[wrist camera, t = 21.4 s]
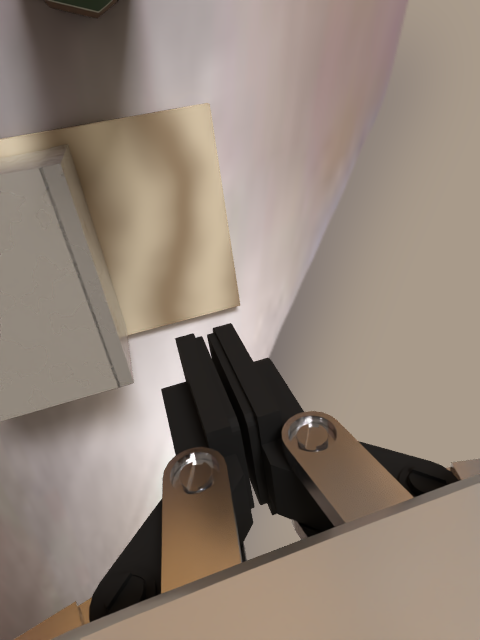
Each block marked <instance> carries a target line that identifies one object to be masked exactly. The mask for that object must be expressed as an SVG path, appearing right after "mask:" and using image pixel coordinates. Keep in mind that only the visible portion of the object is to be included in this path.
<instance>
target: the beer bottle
mask: <svg viewBox="0 0 480 640" xmlns="http://www.w3.org/2000/svg"><path fill="white" fill-rule="evenodd" d="M44 1H45V2H46V3H47V5H48V6H49V7H51V8H54V9H58V10H63V11H67V12H71V13H75V14H80V15H84V16H88V17H92V18H97V19H98V18H99V17H100V16H101V15H102V14H103V13H104V12H106V11H107V10H108V9H109V8H110V7H111V6H112V5H114V4H115V3H116V2H117V1H118V0H44Z"/></svg>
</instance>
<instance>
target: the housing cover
mask: <svg viewBox="0 0 480 640" xmlns="http://www.w3.org/2000/svg"><path fill="white" fill-rule="evenodd" d="M133 383H134V379H133V372H132V364H131V357H130V350H129V343H128V335H127V328H126V324H125V321H124V318H123V315H122V312H121V309H120V306H119V302H118V299H117V296H116V293H115V290H114V287H113V284H112V281H111V277H110V274H109V271H108V268H107V265H106V262H105V259H104V256H103V252H102V249H101V246H100V243H99V240H98V237H97V234H96V230H95V227H94V224H93V221H92V218H91V215H90V212H89V209H88V205H87V202H86V199H85V196H84V193H83V190H82V187H81V184H80V180H79V177H78V174H77V171H76V168H75V165H74V162H73V159H72V155H71V152H70V149H69V146H68V144H66V145H60V146H55V147H51V148H50V149H47V150H41V151H36V152H30V153H24V154H19V155H13V156H8V157H2V158H0V421H4V420H7V419H11V418H14V417H18V416H21V415H25V414H28V413H32V412H35V411H39V410H42V409H45V408H49V407H52V406H56V405H59V404H63V403H66V402H70V401H73V400H77V399H80V398H84V397H87V396H91V395H94V394H98V393H101V392H105V391H108V390H112V389H115V388H119V387H122V386H126V385H129V384H133Z"/></svg>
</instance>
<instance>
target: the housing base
mask: <svg viewBox="0 0 480 640" xmlns="http://www.w3.org/2000/svg"><path fill="white" fill-rule="evenodd" d="M66 144H68V146H69V149H70V152H71V155H72V159H73V162H74V165H75V168H76V171H77V174H78V177H79V180H80V184H81V187H82V190H83V193H84V196H85V199H86V202H87V205H88V209H89V212H90V215H91V218H92V221H93V224H94V227H95V230H96V234H97V237H98V240H99V243H100V246H101V249H102V252H103V256H104V259H105V262H106V265H107V268H108V271H109V274H110V277H111V281H112V284H113V287H114V290H115V293H116V296H117V299H118V302H119V306H120V309H121V312H122V315H123V318H124V321H125V324H126V328H127V335H131V334H135V333H138V332H142V331H146V330H150V329H153V328H157V327H161V326H165V325H168V324H172V323H176V322H180V321H183V320H187V319H191V318H195V317H199V316H202V315H206V314H210V313H214V312H217V311H221V310H225V309H229V308H232V307H236V306H240V300H239V294H238V287H237V281H236V274H235V268H234V261H233V254H232V248H231V241H230V235H229V228H228V222H227V215H226V208H225V202H224V195H223V189H222V182H221V175H220V169H219V162H218V156H217V149H216V143H215V136H214V129H213V123H212V116H211V110H210V104H208V103H205V104H199V105H193V106H188V107H182V108H176V109H170V110H164V111H159V112H153V113H147V114H141V115H136V116H130V117H124V118H118V119H113V120H107V121H101V122H95V123H89V124H84V125H78V126H72V127H66V128H61V129H55V130H49V131H43V132H38V133H32V134H26V135H20V136H15V137H9V138H3V139H0V158H2V157H8V156H13V155H19V154H24V153H30V152H36V151H41V150H47V149H50V148H51V147H55V146H60V145H66Z"/></svg>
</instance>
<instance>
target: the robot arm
mask: <svg viewBox="0 0 480 640" xmlns="http://www.w3.org/2000/svg"><path fill="white" fill-rule="evenodd" d="M207 338H208V343H209V347H210V352H211V356H210V354H209V351H208V349H207V347H206V344H205V342H204V340H203V337H202V336H201V337H197V338H195V336H194V334H189V335H186V336H182V337H178V338H175V339H176V344H177V348H178V352H179V356H180V359H181V363H182V367H183V371H184V375H185V379H186V382H183V383H180V384H176V385H173V386H170V387H166V388H163V389H161V391H162V395H163V400H164V404H165V409H166V413H167V418H168V422H169V427H170V431H171V436H172V440H173V445H174V449H175V454H176V456H175V457H174V458H173V459H172V460H171V461H170V462H169V463H168V465H167V467H166V468H165V470H164V475H163V494H162V499H161V501H160V502H159V503H158V505H157V506H156V507H155V509H154V510H153V511H152V513H151V514H150V516H149V517H148V518H147V520H146V521H145V522H144V524H143V525H142V526H141V528H140V529H139V530H138V532H137V533H136V534H135V536H134V537H133V539H132V540H131V541H130V543H129V544H128V545H127V547H126V548H125V549H124V551H123V552H122V553H121V555H120V556H119V557H118V559H117V560H116V562H115V563H114V564H113V566H112V567H111V568H110V570H109V571H108V572H107V574H106V575H105V576H104V578H103V579H102V581H101V582H100V583H99V585H98V587H97V589H96V590H95V592H94V594H93V596H92V598H90V599H89V600H87V601H85V602H84V603H82V604H80V605H78V604H77V602H76V601H75V602H74V603H72V604H71V605H69V606H67V607H66V608H64V609H62V610H61V611H59V612H57V613H56V614H54V615H53V616H51V617H49V618H48V619H46V620H44V621H43V622H41V623H40V624H38V625H36V626H35V627H33V628H31V629H30V630H28V631H26V632H25V633H23V634H22V635H20V636H18V637H17V638H15V639H13V640H480V459H473V460H466V461H458V462H451V467H449V468H445V467H443V466H441V465H439V464H436V463H434V462H431V461H428V460H424V459H421V458H417V457H413V456H409V455H406V454H403V453H399V452H395V451H392V450H388V449H384V448H381V447H377V446H373V445H370V444H366V443H363V442H359V441H357V440H356V439H355V438H354V437H353V436H352V435H351V434H350V433H349V432H348V431H347V430H346V429H345V428H344V427H343V426H342V425H341V424H340V423H339V422H338V421H337V420H336V419H335V418H333V417H332V416H330V415H328V414H325V413H323V412H316V411H310V412H304V411H303V410H302V408H301V406H300V405H299V403H298V402H297V400H296V398H295V397H294V395H293V394H292V392H291V391H290V389H289V388H288V386H287V384H286V383H285V381H284V380H283V378H282V377H281V375H280V373H279V372H278V370H277V369H276V367H275V366H274V364H273V362H272V361H271V360H270V359H269V358H265V359H262V360H258V361H255V362H253V360H252V359H251V357H250V355H249V353H248V352H247V350H246V348H245V346H244V345H243V343H242V341H241V339H240V338H239V336H238V334H237V332H236V331H235V329H234V327H233V325H232V324H231V323H230V324H226V325H222V326H219V327H215V328H213V333H212V334H208V335H207ZM211 357H212V358H211ZM249 478H250V479H249ZM250 481H251V484H252V486H253V489H254V491H255V494H256V496H257V499H258V501H259V503H260V505H263V504H265V503H267V504H268V506H269V509H270V511H271V513H272V515H274V514H279V515H282V516H284V517H287V518H289V519H291V520H292V524H293V527H294V528H295V530H296V532H297V534H298V535H299V537H300V538H301V540H300V541H298V542H295V543H292V544H290V545H287V546H284V547H282V548H279V549H277V550H274V551H271V552H269V553H266V554H263V555H261V556H258V557H256V558H253V559H250V560H248V561H247V559H246V552H245V547H244V542H243V541H244V540H245V538H246V536H247V534H248V532H249V530H250V528H251V526H252V524H253V519H252V514H251V509H252V508H254V501H253V496H252V491H251V485H250Z"/></svg>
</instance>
